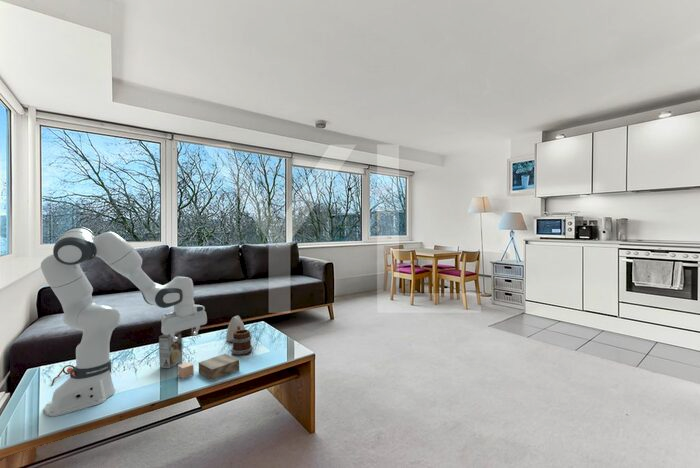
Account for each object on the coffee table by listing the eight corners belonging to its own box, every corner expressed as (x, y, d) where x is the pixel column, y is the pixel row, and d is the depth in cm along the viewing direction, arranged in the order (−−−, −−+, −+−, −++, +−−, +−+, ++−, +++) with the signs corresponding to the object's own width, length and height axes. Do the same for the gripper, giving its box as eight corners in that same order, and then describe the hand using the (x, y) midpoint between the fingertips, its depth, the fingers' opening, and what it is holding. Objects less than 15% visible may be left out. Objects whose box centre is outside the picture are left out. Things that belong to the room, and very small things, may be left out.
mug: (233, 358, 174) (231, 329, 176) (228, 354, 186) (227, 327, 188) (255, 353, 180) (253, 326, 182) (249, 350, 192) (247, 324, 194)
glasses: (96, 370, 163) (95, 360, 163) (85, 381, 151) (85, 371, 151) (63, 375, 159) (63, 365, 158) (50, 387, 146) (49, 376, 146)
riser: (212, 380, 150) (212, 369, 150) (198, 372, 158) (198, 362, 158) (239, 369, 161) (239, 359, 160) (225, 363, 169) (225, 353, 169)
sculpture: (232, 335, 212) (231, 312, 212) (249, 335, 211) (249, 313, 211) (222, 342, 199) (222, 318, 199) (241, 342, 198) (240, 318, 198)
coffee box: (172, 360, 173) (171, 330, 173) (182, 361, 172) (182, 331, 172) (159, 367, 164) (158, 336, 164) (170, 368, 163) (169, 337, 163)
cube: (183, 378, 152) (182, 368, 152) (178, 375, 155) (178, 365, 155) (193, 374, 156) (193, 364, 156) (188, 372, 159) (188, 361, 159)
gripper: (163, 316, 145) (165, 346, 145) (208, 306, 161) (209, 333, 161) (158, 313, 149) (159, 343, 149) (201, 304, 165) (203, 331, 165)
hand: (185, 338), depth 155 cm, fingers open, 8 cm apart
